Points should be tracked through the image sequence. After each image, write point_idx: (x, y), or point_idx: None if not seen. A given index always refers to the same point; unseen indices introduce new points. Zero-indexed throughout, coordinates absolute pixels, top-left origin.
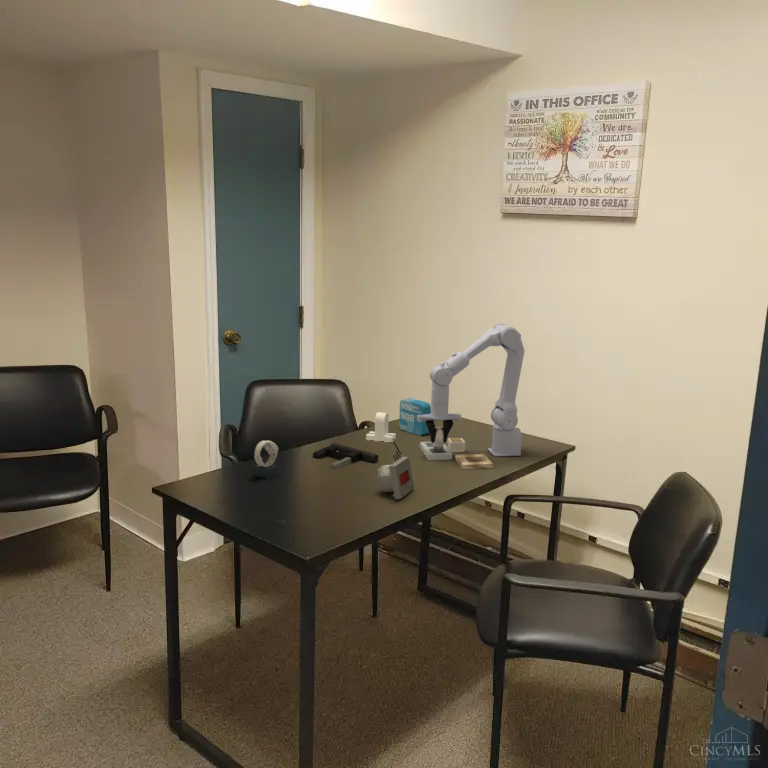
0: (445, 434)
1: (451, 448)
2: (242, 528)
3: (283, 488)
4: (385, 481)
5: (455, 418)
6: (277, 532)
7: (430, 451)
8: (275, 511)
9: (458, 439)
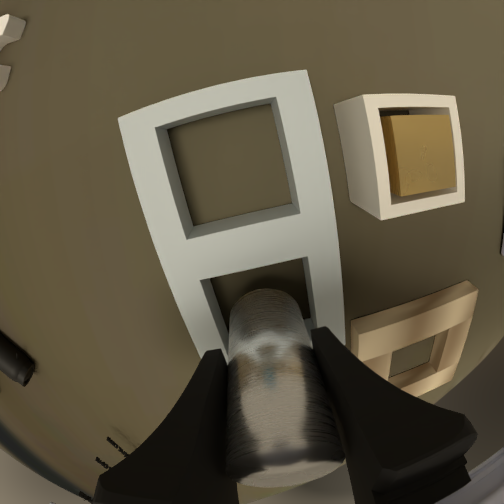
0: (337, 425)
1: (363, 207)
2: (63, 488)
3: (13, 439)
4: None
5: (491, 479)
6: None
7: (213, 330)
8: (58, 478)
9: (439, 154)
